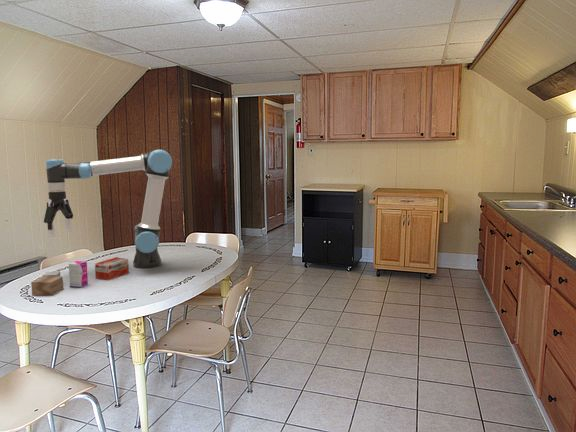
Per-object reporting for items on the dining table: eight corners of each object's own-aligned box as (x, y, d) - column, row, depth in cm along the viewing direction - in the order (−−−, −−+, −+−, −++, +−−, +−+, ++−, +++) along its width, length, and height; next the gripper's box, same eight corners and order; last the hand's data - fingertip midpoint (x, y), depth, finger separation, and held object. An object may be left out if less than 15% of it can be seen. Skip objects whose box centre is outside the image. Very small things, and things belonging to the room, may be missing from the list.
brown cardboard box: (63, 289, 200) (62, 276, 199) (52, 295, 191) (51, 282, 190) (44, 289, 201) (43, 276, 200) (32, 295, 192) (31, 282, 191)
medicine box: (107, 280, 214) (106, 264, 213) (95, 278, 217) (94, 263, 216) (129, 273, 228) (128, 258, 227) (117, 271, 231) (116, 256, 230)
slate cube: (61, 283, 210) (60, 271, 209) (57, 287, 204) (56, 274, 203) (47, 284, 208) (46, 272, 207) (43, 288, 202) (42, 275, 202)
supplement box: (80, 288, 202) (78, 264, 200) (69, 287, 203) (67, 263, 202) (88, 284, 208) (87, 261, 206) (77, 283, 209) (76, 260, 207)
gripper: (64, 189, 225) (68, 229, 228) (32, 193, 200) (36, 238, 203) (78, 189, 224) (81, 229, 227) (48, 193, 200) (51, 238, 203)
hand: (60, 233), depth 215 cm, fingers open, 13 cm apart
